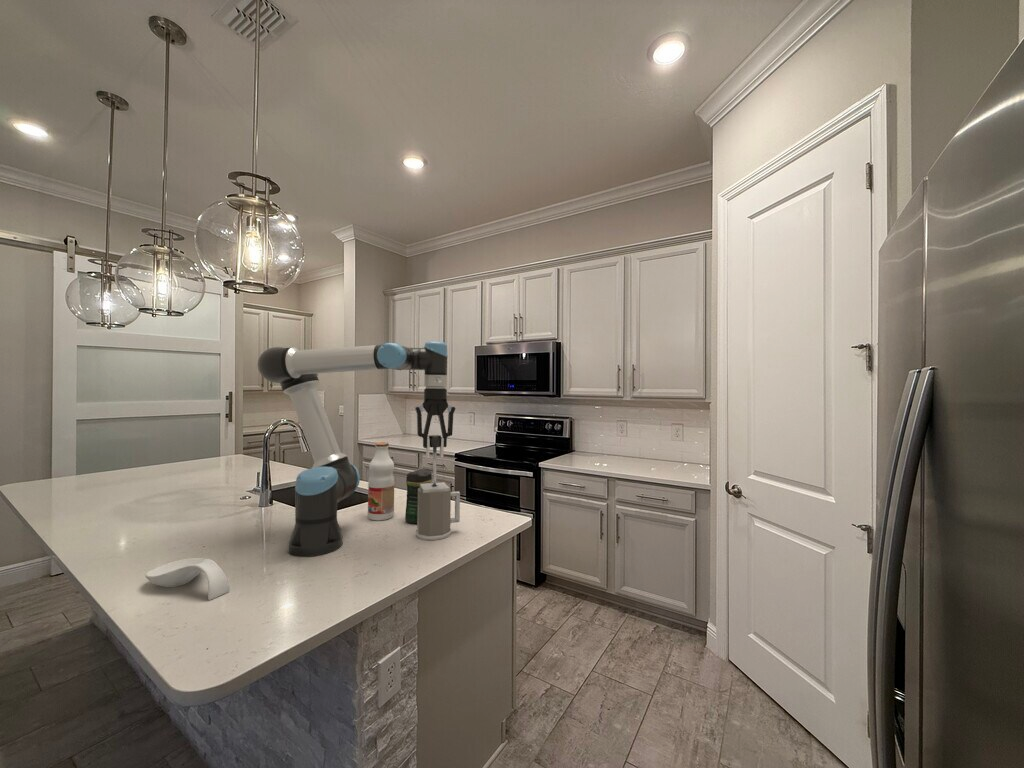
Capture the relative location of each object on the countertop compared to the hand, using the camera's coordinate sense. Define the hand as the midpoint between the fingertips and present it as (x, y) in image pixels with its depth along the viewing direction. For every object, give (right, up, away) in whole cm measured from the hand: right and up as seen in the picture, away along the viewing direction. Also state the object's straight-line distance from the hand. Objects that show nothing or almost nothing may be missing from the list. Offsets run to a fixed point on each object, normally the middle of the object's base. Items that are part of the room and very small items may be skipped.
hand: (434, 457), depth 140 cm
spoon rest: (-53, -26, -37) cm, 70 cm away
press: (+1, -26, 0) cm, 26 cm away
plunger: (0, -13, 0) cm, 13 cm away
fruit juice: (-24, -26, +17) cm, 39 cm away
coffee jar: (-9, -26, +14) cm, 31 cm away
